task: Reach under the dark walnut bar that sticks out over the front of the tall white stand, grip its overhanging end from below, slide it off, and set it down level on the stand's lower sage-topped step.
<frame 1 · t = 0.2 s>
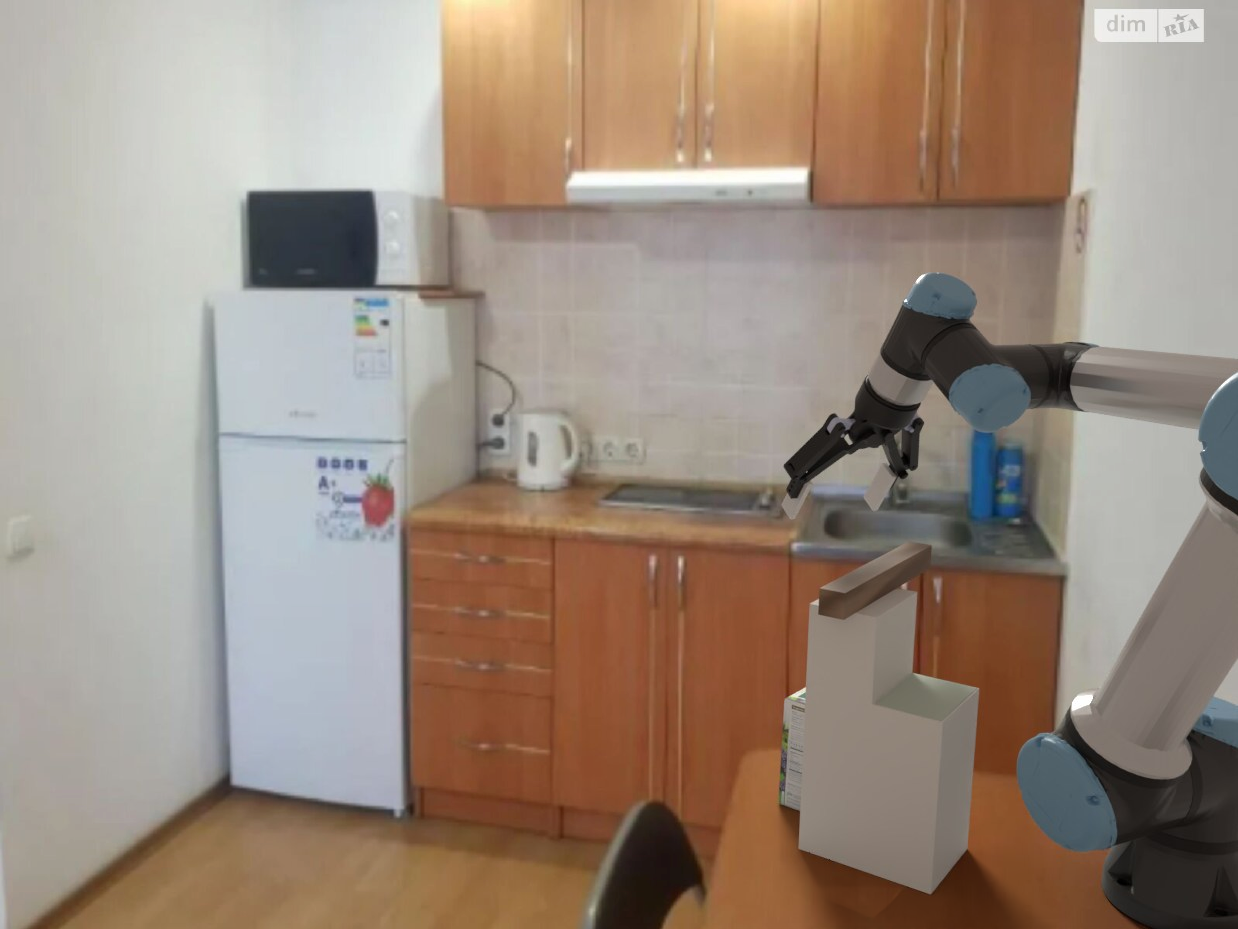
hand: (829, 508, 151), 35 cm above the table, tool tilted 35°, fingers open, 13 cm apart
walnut bar: (878, 589, 131), point 30 cm above the table, touching step stand
step stand: (883, 849, 131), on the table
syrup box: (809, 804, 142), on the table
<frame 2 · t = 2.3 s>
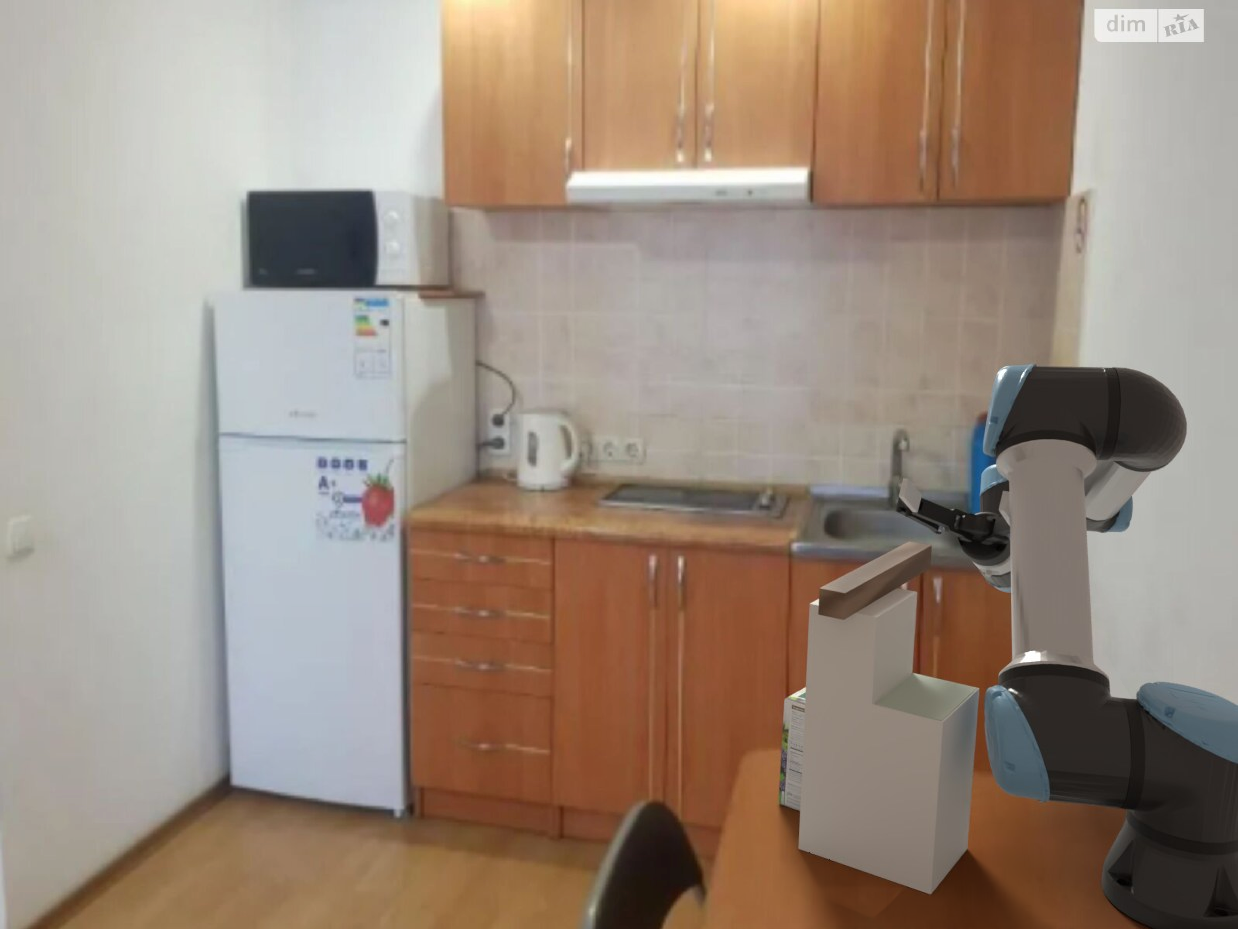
hand: (952, 493, 149), 38 cm above the table, tool pointing upward, fingers open, 13 cm apart
nothing on the table moved.
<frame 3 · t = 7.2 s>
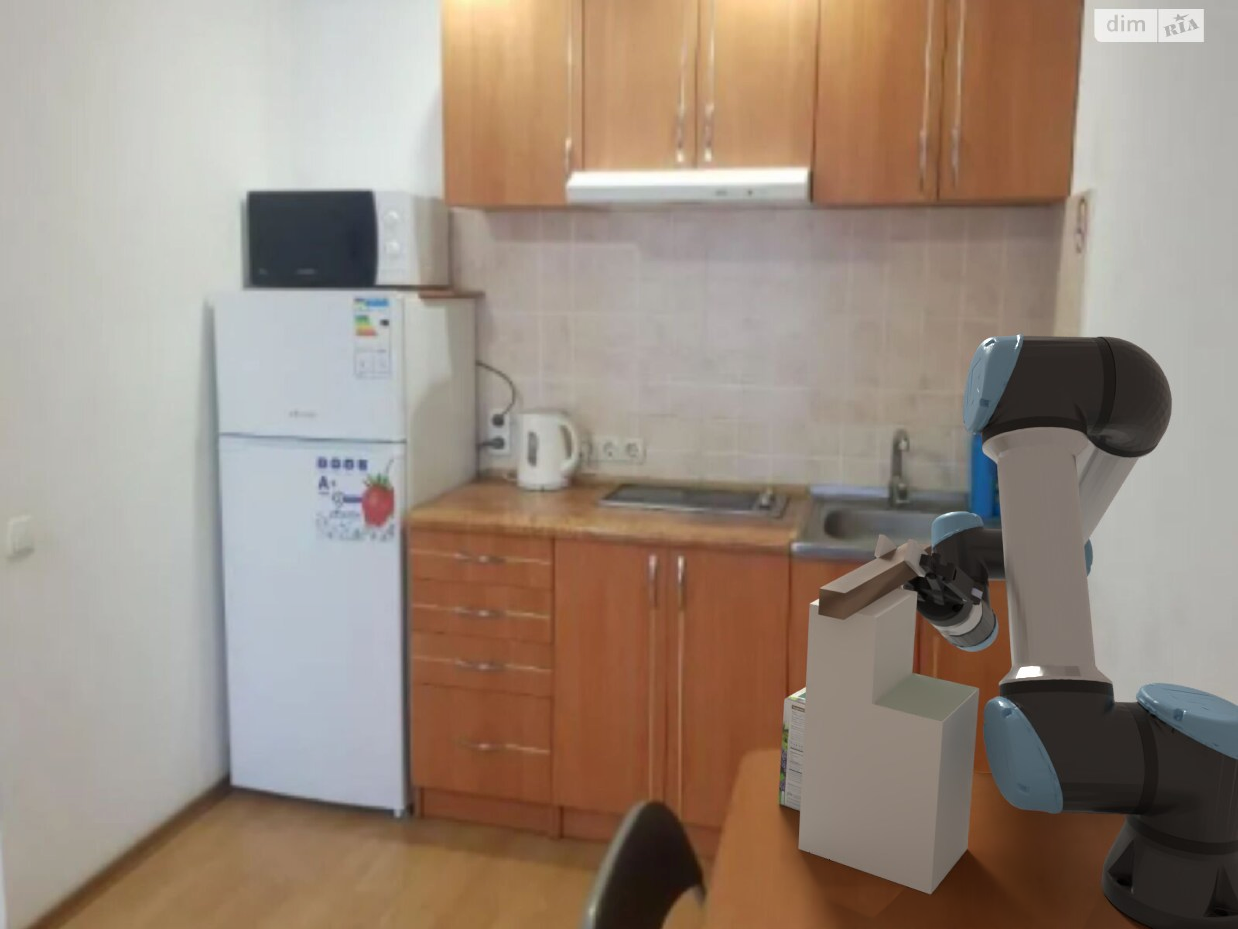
hand: (894, 547, 134), 34 cm above the table, tool pointing upward, fingers closed on walnut bar, 3 cm apart
walnut bar: (878, 589, 131), point 30 cm above the table, touching gripper, step stand
everything else where it was.
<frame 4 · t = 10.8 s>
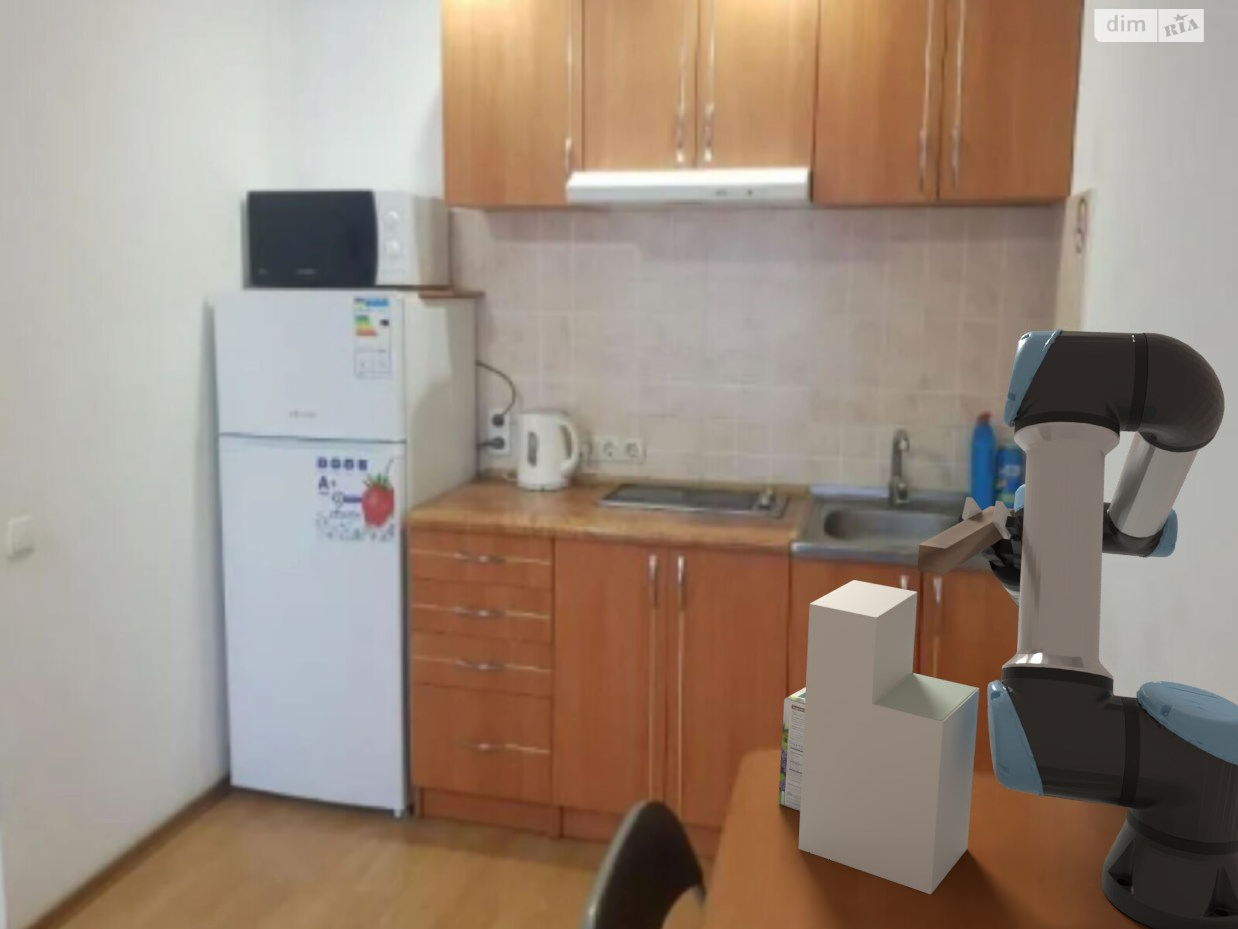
hand: (982, 509, 137), 38 cm above the table, tool pointing upward, fingers closed on walnut bar, 3 cm apart
walnut bar: (968, 549, 135), point 34 cm above the table, touching gripper
everything else where it was.
when the fingers open (26 cm above the table, at t = 14.4 s): walnut bar drops 2 cm, resting on step stand.
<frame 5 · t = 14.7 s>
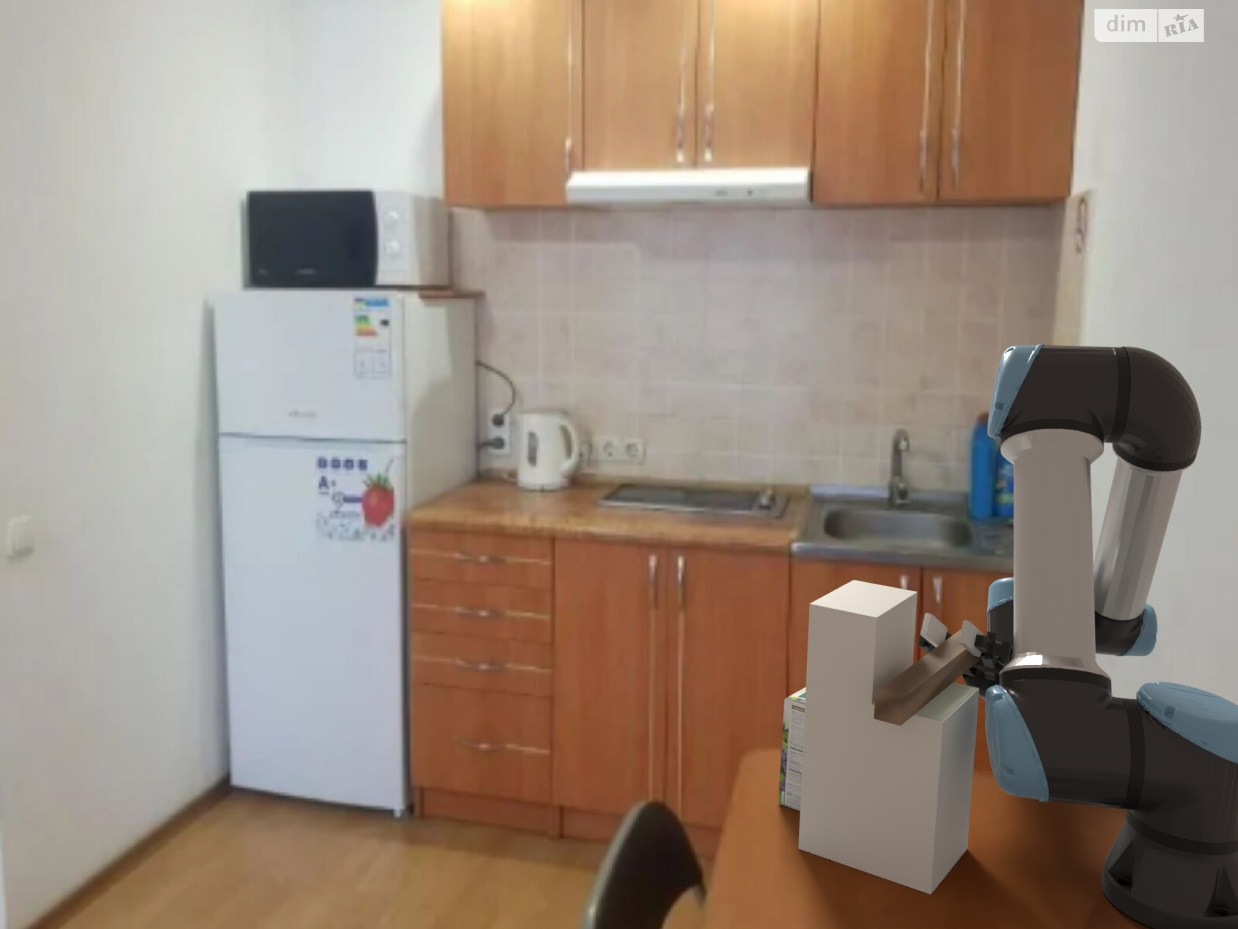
hand: (944, 628, 131), 26 cm above the table, tool pointing upward, fingers open, 4 cm apart
walnut bar: (932, 686, 128), point 20 cm above the table, touching step stand
everything else where it was.
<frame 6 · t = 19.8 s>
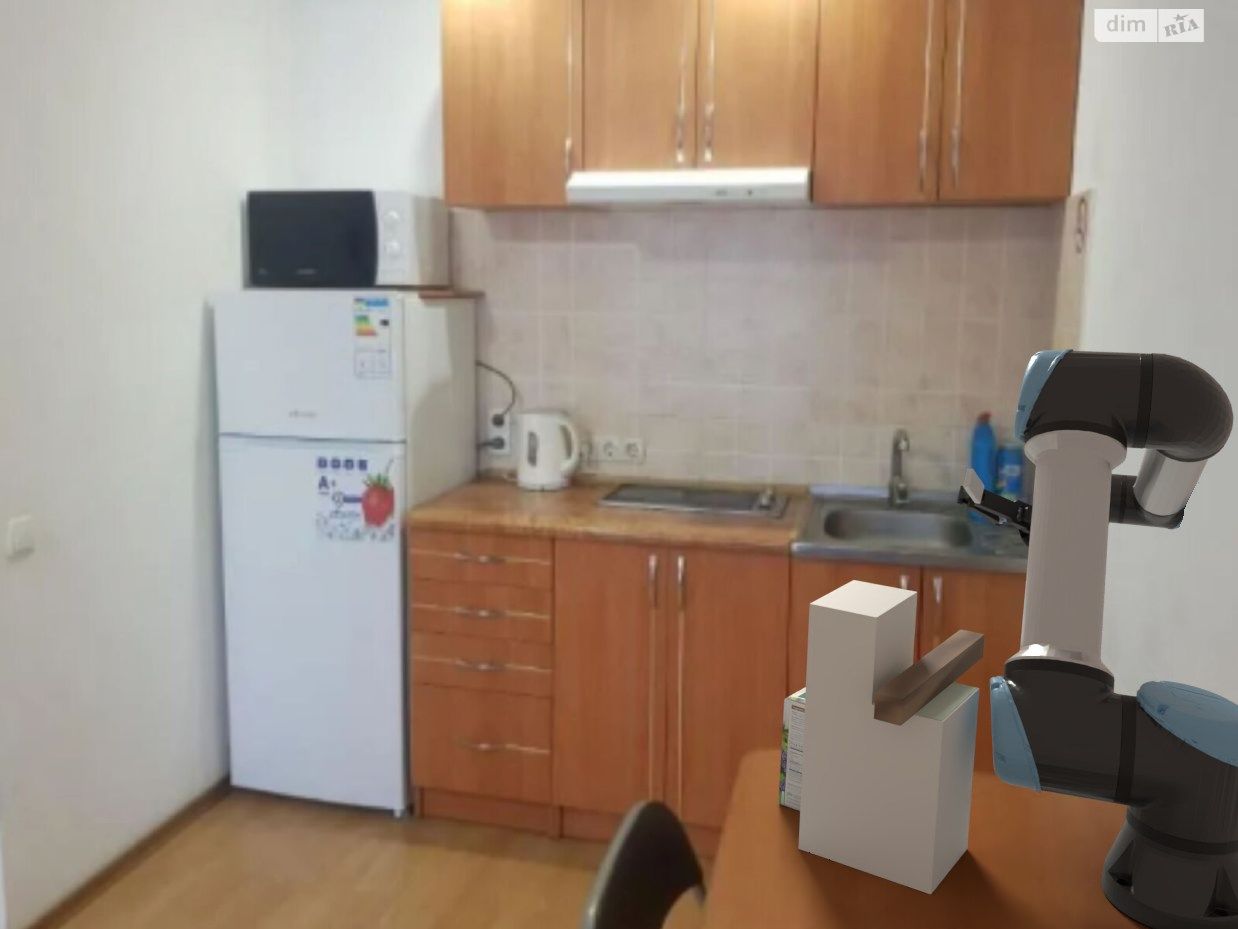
hand: (1019, 483, 146), 40 cm above the table, tool pointing upward, fingers open, 13 cm apart
nothing on the table moved.
at the end: walnut bar inside the target area on the step stand (0.9 cm from its centre), point 20.1 cm above the step stand's base; walnut bar tilted 0°; the gripper is holding nothing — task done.
